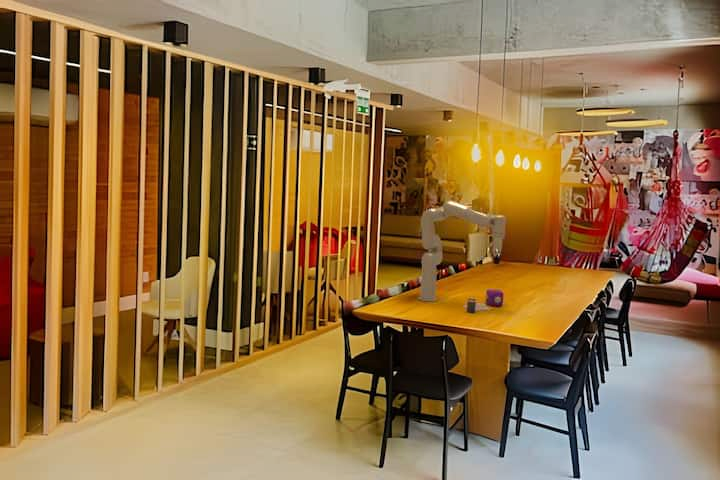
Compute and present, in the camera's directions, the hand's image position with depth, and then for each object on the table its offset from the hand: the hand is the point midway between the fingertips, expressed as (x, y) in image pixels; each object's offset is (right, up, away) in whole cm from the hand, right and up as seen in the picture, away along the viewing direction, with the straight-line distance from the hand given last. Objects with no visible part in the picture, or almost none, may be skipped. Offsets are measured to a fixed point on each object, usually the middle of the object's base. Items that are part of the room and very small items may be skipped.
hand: (496, 263), depth 387 cm
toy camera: (+3, -28, +17) cm, 33 cm away
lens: (-18, -29, -10) cm, 36 cm away
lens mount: (-11, -28, +3) cm, 31 cm away
